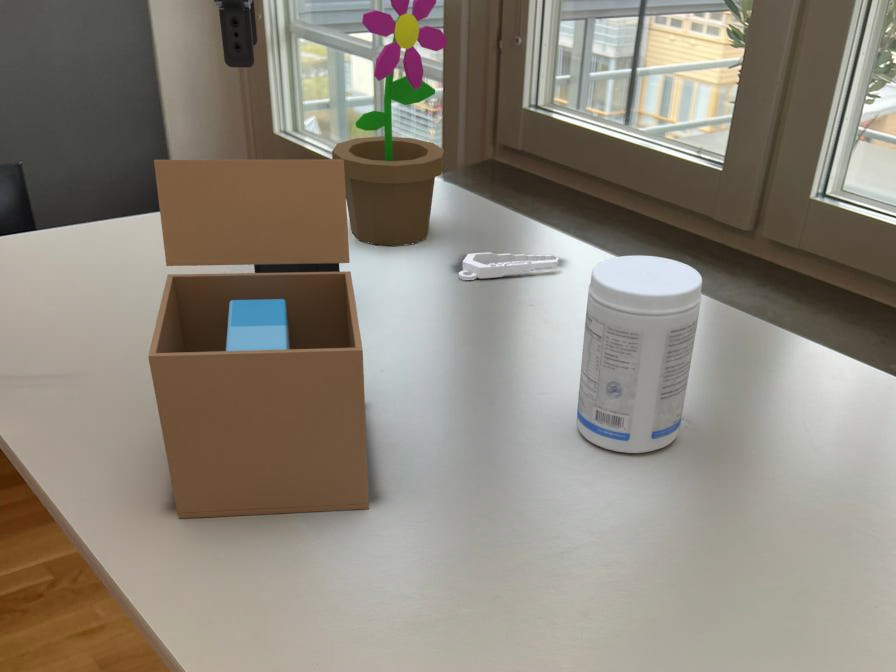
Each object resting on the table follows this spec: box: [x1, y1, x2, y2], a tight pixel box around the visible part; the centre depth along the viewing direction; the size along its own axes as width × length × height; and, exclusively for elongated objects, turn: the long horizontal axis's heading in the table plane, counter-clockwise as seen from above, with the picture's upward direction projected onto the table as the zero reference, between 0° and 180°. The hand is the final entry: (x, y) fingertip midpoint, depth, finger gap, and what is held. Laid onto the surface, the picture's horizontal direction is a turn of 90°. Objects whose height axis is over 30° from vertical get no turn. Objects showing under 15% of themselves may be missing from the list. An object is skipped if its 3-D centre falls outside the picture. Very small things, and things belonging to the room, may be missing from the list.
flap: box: [153, 159, 351, 267], centre depth 81 cm, size 15×8×1 cm
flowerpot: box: [331, 0, 448, 246], centre depth 123 cm, size 14×14×30 cm
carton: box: [147, 271, 370, 519], centre depth 81 cm, size 15×16×14 cm
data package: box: [226, 299, 290, 351], centre depth 81 cm, size 12×4×12 cm, turn 9°
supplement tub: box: [576, 255, 703, 454], centre depth 87 cm, size 10×10×15 cm
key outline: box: [458, 251, 559, 281], centre depth 123 cm, size 13×5×2 cm, turn 108°
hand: (242, 55), depth 79 cm, fingers open, 8 cm apart
